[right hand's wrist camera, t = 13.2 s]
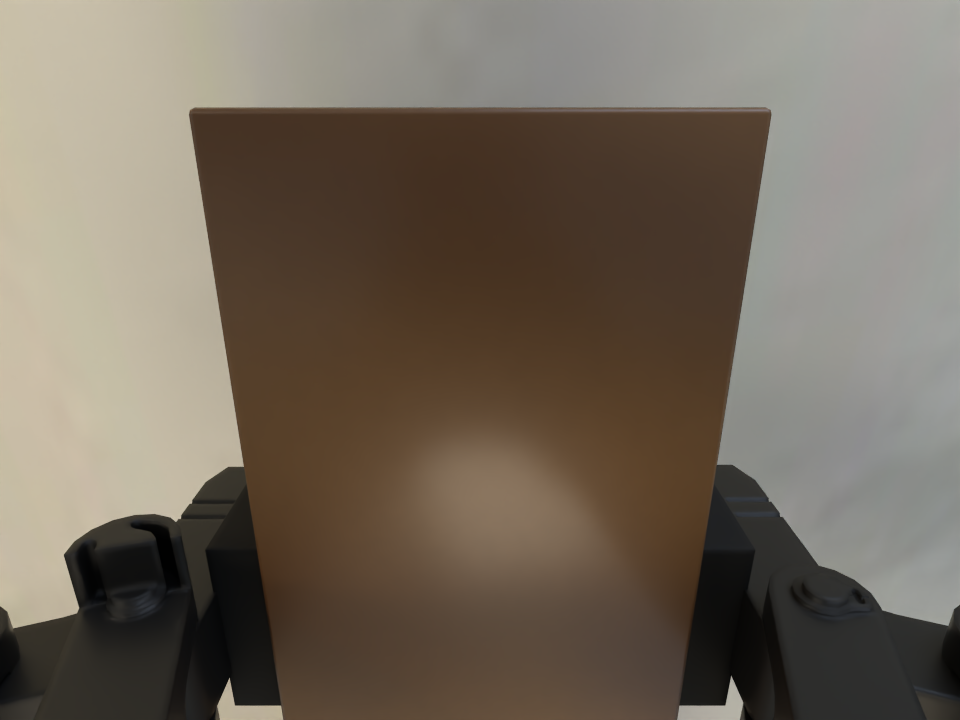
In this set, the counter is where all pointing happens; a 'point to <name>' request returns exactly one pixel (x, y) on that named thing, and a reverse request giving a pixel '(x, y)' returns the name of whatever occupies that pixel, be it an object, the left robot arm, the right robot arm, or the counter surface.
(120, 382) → the counter surface
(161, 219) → the counter surface
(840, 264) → the counter surface
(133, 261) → the counter surface
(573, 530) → the bar
